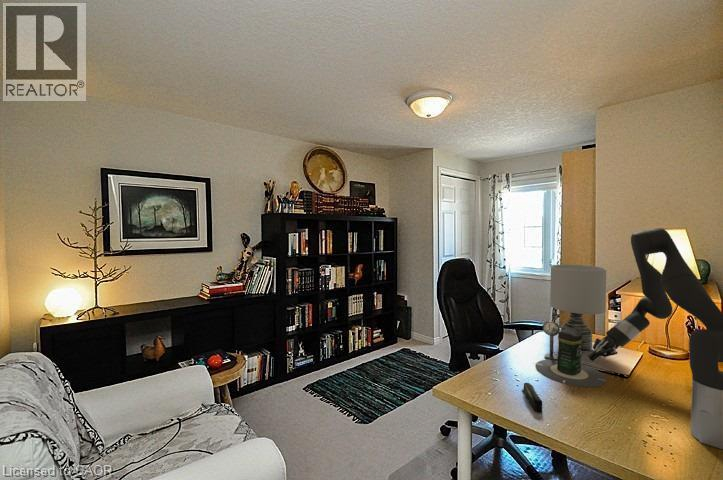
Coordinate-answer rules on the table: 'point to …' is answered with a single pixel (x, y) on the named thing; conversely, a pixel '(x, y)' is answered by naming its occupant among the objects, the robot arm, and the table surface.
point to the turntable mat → (583, 379)
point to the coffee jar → (569, 351)
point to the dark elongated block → (532, 397)
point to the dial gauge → (551, 337)
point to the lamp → (578, 296)
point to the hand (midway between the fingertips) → (589, 359)
